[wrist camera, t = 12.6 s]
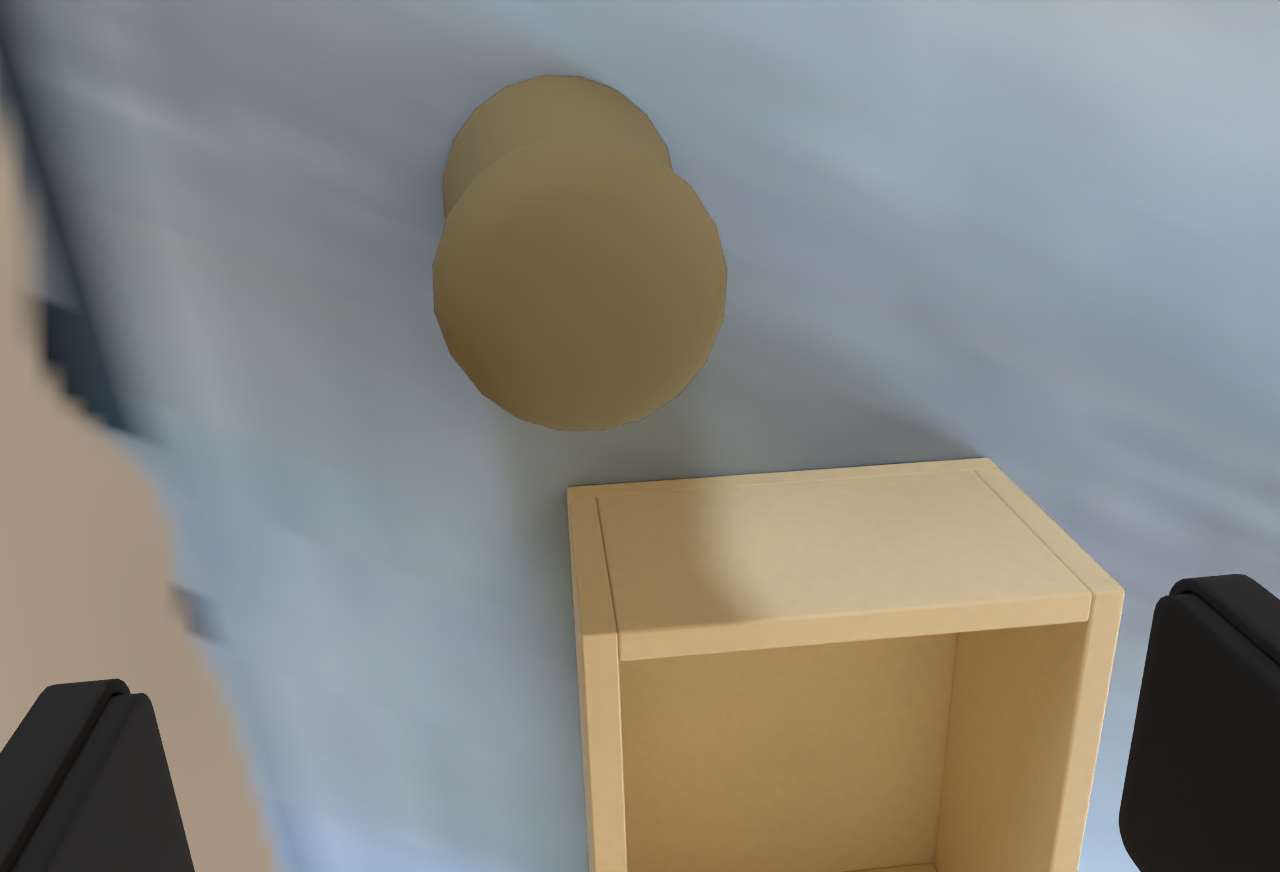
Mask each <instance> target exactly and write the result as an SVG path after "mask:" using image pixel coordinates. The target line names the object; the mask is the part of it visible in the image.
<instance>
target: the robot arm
mask: <svg viewBox="0 0 1280 872" xmlns="http://www.w3.org/2000/svg"><path fill="white" fill-rule="evenodd" d="M1119 828H1120V834H1121V837H1122V841H1123V844H1124V846H1125V848H1126V851H1127V852H1128V854H1129V856H1130V857H1131V859H1132V860H1133V862H1134V863H1135V864H1136V866H1137V867H1138V869H1139V870H1140V871H1141V872H1280V600H1279V599H1278V598H1277V597H1275V596H1274V595H1273V594H1271V593H1270V592H1269V591H1268V590H1266V589H1265V588H1264V587H1262V586H1261V585H1260V584H1258V583H1257V582H1256V581H1255V580H1253V579H1251V578H1249V577H1248V576H1246V575H1241V574H1231V575H1220V576H1209V577H1199V578H1188V579H1182V580H1180V581H1178V582H1176V583H1175V585H1174V586H1173V587H1172V589H1171V590H1170V594H1169V596H1164V597H1162V598H1160V600H1159V601H1158V603H1157V604H1156V607H1155V611H1154V615H1153V621H1152V627H1151V633H1150V638H1149V644H1148V650H1147V656H1146V662H1145V667H1144V673H1143V679H1142V685H1141V690H1140V696H1139V702H1138V708H1137V714H1136V719H1135V725H1134V731H1133V737H1132V742H1131V748H1130V754H1129V760H1128V766H1127V771H1126V777H1125V783H1124V789H1123V795H1122V800H1121V806H1120V812H1119ZM0 872H195V870H194V866H193V863H192V859H191V855H190V851H189V847H188V844H187V840H186V835H185V831H184V828H183V823H182V819H181V815H180V811H179V808H178V804H177V800H176V796H175V792H174V788H173V784H172V780H171V776H170V772H169V769H168V764H167V760H166V756H165V753H164V749H163V745H162V741H161V737H160V733H159V729H158V725H157V721H156V717H155V713H154V710H153V706H152V703H151V701H150V699H149V698H148V696H147V695H146V694H143V693H139V694H131V693H130V690H129V688H128V687H127V685H126V684H125V682H124V681H122V680H120V679H109V680H99V681H88V682H77V683H67V684H56V685H52V686H49V687H47V688H46V689H45V690H44V691H43V692H42V693H41V694H40V696H39V697H38V698H37V700H36V701H35V703H34V705H33V706H32V707H31V709H30V710H29V712H28V713H27V715H26V716H25V718H24V719H23V721H22V722H21V723H20V725H19V727H18V728H17V730H16V731H15V732H14V734H13V735H12V737H11V738H10V740H9V741H8V743H7V744H6V746H5V747H4V749H3V750H2V752H1V753H0Z"/></svg>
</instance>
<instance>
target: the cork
mask: <svg viewBox="0 0 1280 872" xmlns="http://www.w3.org/2000/svg"><path fill="white" fill-rule="evenodd" d="M443 196H444V215H445V218H446V223H445V226H444V229H443V232H442V236H441V239H440V242H439V246H438V249H437V252H436V256H435V259H434V262H433V292H434V312H435V315H436V318H437V320H438V323H439V326H440V328H441V331H442V334H443V336H444V339H445V342H446V344H447V347H448V350H449V353H450V354H451V356H452V357H453V358H454V360H455V361H456V362H457V363H458V365H459V366H460V367H461V368H462V370H463V371H464V372H465V373H466V375H467V376H468V377H469V378H470V380H471V381H472V382H473V383H474V385H475V386H476V387H477V389H478V390H479V391H480V392H481V394H482V395H484V396H485V397H487V398H488V399H490V400H491V401H493V402H494V403H496V404H497V405H499V406H500V407H502V408H503V409H505V410H506V411H508V412H509V413H511V414H512V415H514V416H515V417H517V418H518V419H522V420H525V421H528V422H532V423H535V424H538V425H542V426H545V427H548V428H552V429H555V430H558V431H603V430H606V429H610V428H613V427H616V426H620V425H623V424H626V423H629V422H633V421H636V420H639V419H643V418H645V417H646V416H648V415H649V414H651V413H652V412H654V411H655V410H657V409H658V408H660V407H661V406H663V405H664V404H666V403H667V402H669V401H670V400H672V399H673V398H675V397H676V396H678V395H679V394H680V393H681V392H682V391H683V389H684V388H685V387H686V386H687V385H688V383H689V382H690V381H691V380H692V378H693V377H694V376H695V375H696V374H697V372H698V371H699V370H700V369H701V367H702V366H703V365H704V364H705V363H706V361H707V359H708V357H709V354H710V352H711V349H712V347H713V344H714V342H715V339H716V337H717V334H718V332H719V329H720V327H721V324H722V322H723V318H724V311H725V297H726V283H727V266H726V262H725V258H724V254H723V250H722V246H721V242H720V238H719V234H718V230H717V226H716V224H715V223H714V221H713V219H712V218H711V216H710V215H709V213H708V212H707V210H706V209H705V207H704V205H703V204H702V202H701V201H700V199H699V198H698V196H697V194H696V193H695V191H694V190H693V188H692V187H691V186H690V185H689V184H688V183H687V182H686V181H685V180H683V179H682V178H681V177H680V176H678V175H677V174H676V173H675V172H673V168H672V165H671V161H670V157H669V153H668V149H667V146H666V144H665V143H664V141H663V140H662V138H661V137H660V135H659V133H658V132H657V130H656V129H655V127H654V126H653V124H652V122H651V121H650V119H649V118H648V116H647V115H646V114H645V113H644V112H643V111H642V110H640V109H639V108H638V107H637V106H635V105H634V104H633V103H632V102H631V101H629V100H628V99H627V98H626V97H624V96H623V95H622V94H621V93H620V92H618V91H617V90H615V89H612V88H609V87H607V86H604V85H601V84H599V83H596V82H594V81H591V80H588V79H586V78H583V77H571V76H540V77H537V78H533V79H530V80H527V81H523V82H520V83H517V84H514V85H510V86H507V87H505V88H504V89H503V90H501V91H500V92H498V93H497V94H496V95H494V96H493V97H492V98H490V99H489V100H487V101H486V102H485V103H483V104H482V105H481V106H479V107H478V108H476V109H475V111H474V112H473V113H472V115H471V116H470V118H469V119H468V121H467V122H466V123H465V125H464V126H463V128H462V129H461V131H460V132H459V133H458V135H457V136H456V138H455V139H454V141H453V144H452V148H451V151H450V154H449V158H448V161H447V164H446V168H445V171H444V175H443Z"/></svg>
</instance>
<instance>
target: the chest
mask: <svg viewBox="0 0 1280 872" xmlns="http://www.w3.org/2000/svg"><path fill="white" fill-rule="evenodd" d="M567 506H568V522H569V539H570V556H571V573H572V589H573V606H574V623H575V640H576V657H577V673H578V690H579V707H580V724H581V740H582V757H583V774H584V791H585V807H586V824H587V841H588V858H589V872H1078V867H1079V861H1080V856H1081V850H1082V844H1083V838H1084V832H1085V826H1086V820H1087V815H1088V809H1089V803H1090V797H1091V791H1092V785H1093V779H1094V773H1095V768H1096V762H1097V756H1098V750H1099V744H1100V738H1101V732H1102V726H1103V721H1104V715H1105V709H1106V703H1107V697H1108V691H1109V685H1110V679H1111V674H1112V668H1113V662H1114V656H1115V650H1116V644H1117V638H1118V633H1119V627H1120V621H1121V615H1122V609H1123V603H1124V597H1125V590H1124V589H1123V588H1122V587H1121V586H1120V585H1119V584H1118V583H1117V582H1116V581H1115V580H1114V579H1113V578H1112V577H1111V576H1110V575H1109V574H1108V573H1107V572H1106V571H1105V570H1104V569H1103V568H1102V567H1101V566H1100V565H1098V564H1097V563H1096V562H1095V561H1094V560H1093V559H1092V558H1091V557H1090V556H1089V555H1088V554H1087V553H1086V552H1085V551H1084V550H1083V549H1082V548H1081V547H1080V546H1079V545H1078V544H1077V543H1076V542H1075V541H1074V540H1073V539H1072V538H1071V537H1070V536H1069V535H1068V534H1067V533H1066V532H1064V531H1063V530H1062V529H1061V528H1060V527H1059V526H1058V525H1057V524H1056V523H1055V522H1054V521H1053V520H1052V519H1051V518H1050V517H1049V516H1048V515H1047V514H1046V513H1045V512H1044V511H1043V510H1042V509H1041V508H1040V507H1039V506H1038V505H1037V504H1036V503H1035V502H1034V501H1033V500H1032V499H1030V498H1029V497H1028V496H1027V495H1026V494H1025V493H1024V492H1023V491H1022V490H1021V489H1020V488H1019V487H1018V486H1017V485H1016V484H1015V483H1014V482H1013V481H1012V480H1011V479H1010V478H1009V477H1008V476H1007V475H1006V474H1005V473H1004V472H1003V471H1002V470H1001V469H999V468H998V466H997V465H996V464H995V463H994V462H993V461H991V460H990V459H989V458H975V459H960V460H946V461H932V462H918V463H903V464H889V465H875V466H861V467H846V468H832V469H818V470H804V471H790V472H775V473H761V474H747V475H733V476H718V477H704V478H690V479H676V480H661V481H647V482H633V483H619V484H604V485H590V486H576V487H568V488H567Z"/></svg>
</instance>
